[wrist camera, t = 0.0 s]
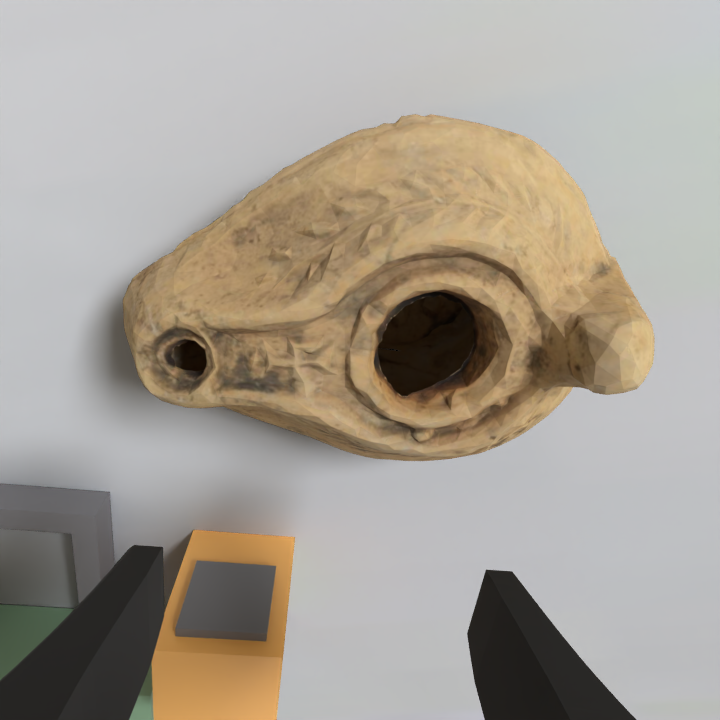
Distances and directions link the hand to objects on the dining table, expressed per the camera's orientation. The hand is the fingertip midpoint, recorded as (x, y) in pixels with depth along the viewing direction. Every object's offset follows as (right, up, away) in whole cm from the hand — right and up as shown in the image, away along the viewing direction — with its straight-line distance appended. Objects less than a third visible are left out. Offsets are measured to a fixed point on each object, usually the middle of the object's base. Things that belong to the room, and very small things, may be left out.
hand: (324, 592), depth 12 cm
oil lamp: (+1, +8, +8) cm, 11 cm away
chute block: (-5, -5, +13) cm, 15 cm away
